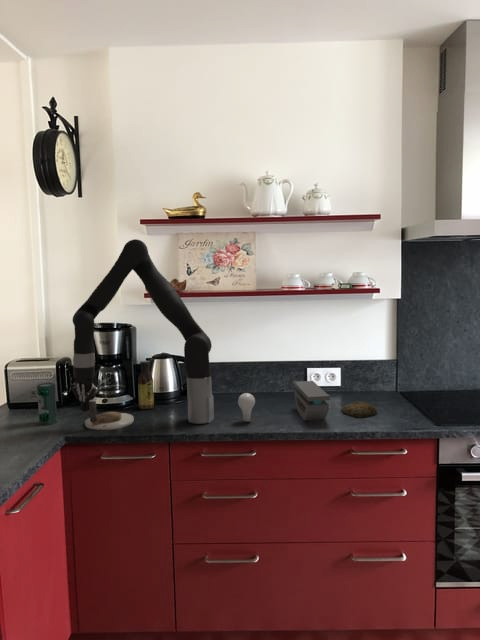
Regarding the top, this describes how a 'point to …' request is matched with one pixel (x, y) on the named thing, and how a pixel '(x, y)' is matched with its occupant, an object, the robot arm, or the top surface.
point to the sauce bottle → (145, 386)
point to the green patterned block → (47, 403)
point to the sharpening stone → (311, 401)
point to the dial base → (111, 423)
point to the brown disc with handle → (102, 415)
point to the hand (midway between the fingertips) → (84, 410)
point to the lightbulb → (246, 405)
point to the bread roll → (359, 410)
